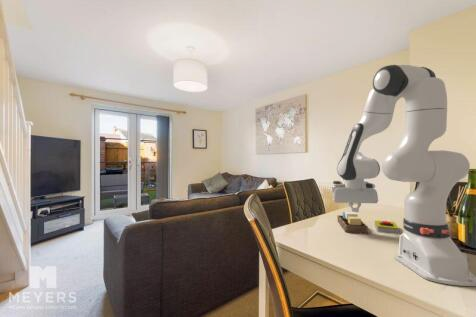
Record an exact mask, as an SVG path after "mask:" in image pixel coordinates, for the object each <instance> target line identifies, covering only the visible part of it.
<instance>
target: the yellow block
mask: <svg viewBox="0 0 476 317" xmlns="http://www.w3.org/2000/svg"><path fill="white" fill-rule="evenodd" d="M361 221H362V219H361V218H360V217H359V216H358V217H350V216H348V223H349V224H350V225H353V226H356V225H361Z"/></svg>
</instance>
